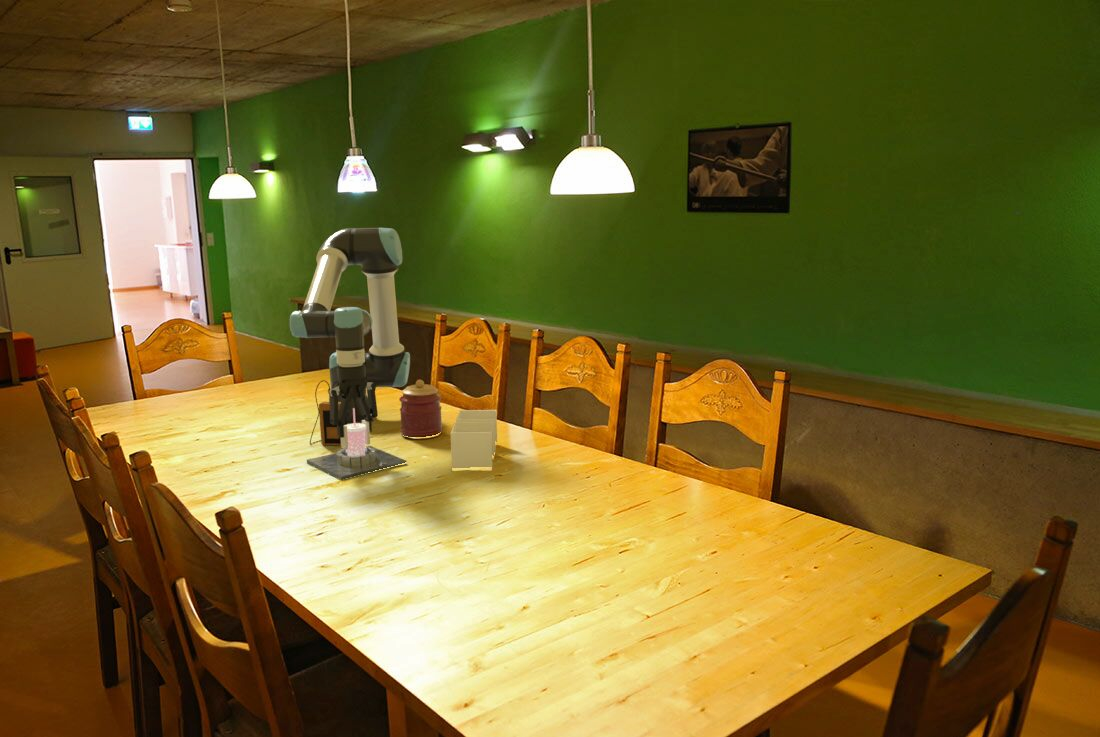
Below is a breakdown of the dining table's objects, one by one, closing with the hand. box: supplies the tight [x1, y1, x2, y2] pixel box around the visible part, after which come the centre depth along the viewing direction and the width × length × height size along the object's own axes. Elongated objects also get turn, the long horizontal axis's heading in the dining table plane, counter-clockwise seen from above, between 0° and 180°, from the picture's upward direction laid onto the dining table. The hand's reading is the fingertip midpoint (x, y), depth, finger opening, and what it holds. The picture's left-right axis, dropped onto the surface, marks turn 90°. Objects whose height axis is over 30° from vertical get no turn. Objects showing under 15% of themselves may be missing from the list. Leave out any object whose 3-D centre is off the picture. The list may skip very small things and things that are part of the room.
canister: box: [399, 379, 443, 437], centre depth 258 cm, size 13×13×18 cm
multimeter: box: [309, 380, 358, 446], centre depth 250 cm, size 15×10×20 cm
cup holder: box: [306, 445, 407, 481], centre depth 230 cm, size 20×20×4 cm
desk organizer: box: [450, 409, 498, 469], centre depth 234 cm, size 25×11×11 cm, turn 0°
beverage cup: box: [346, 408, 366, 456], centre depth 229 cm, size 6×6×14 cm
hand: (355, 445), depth 229 cm, fingers closed on beverage cup, 6 cm apart
